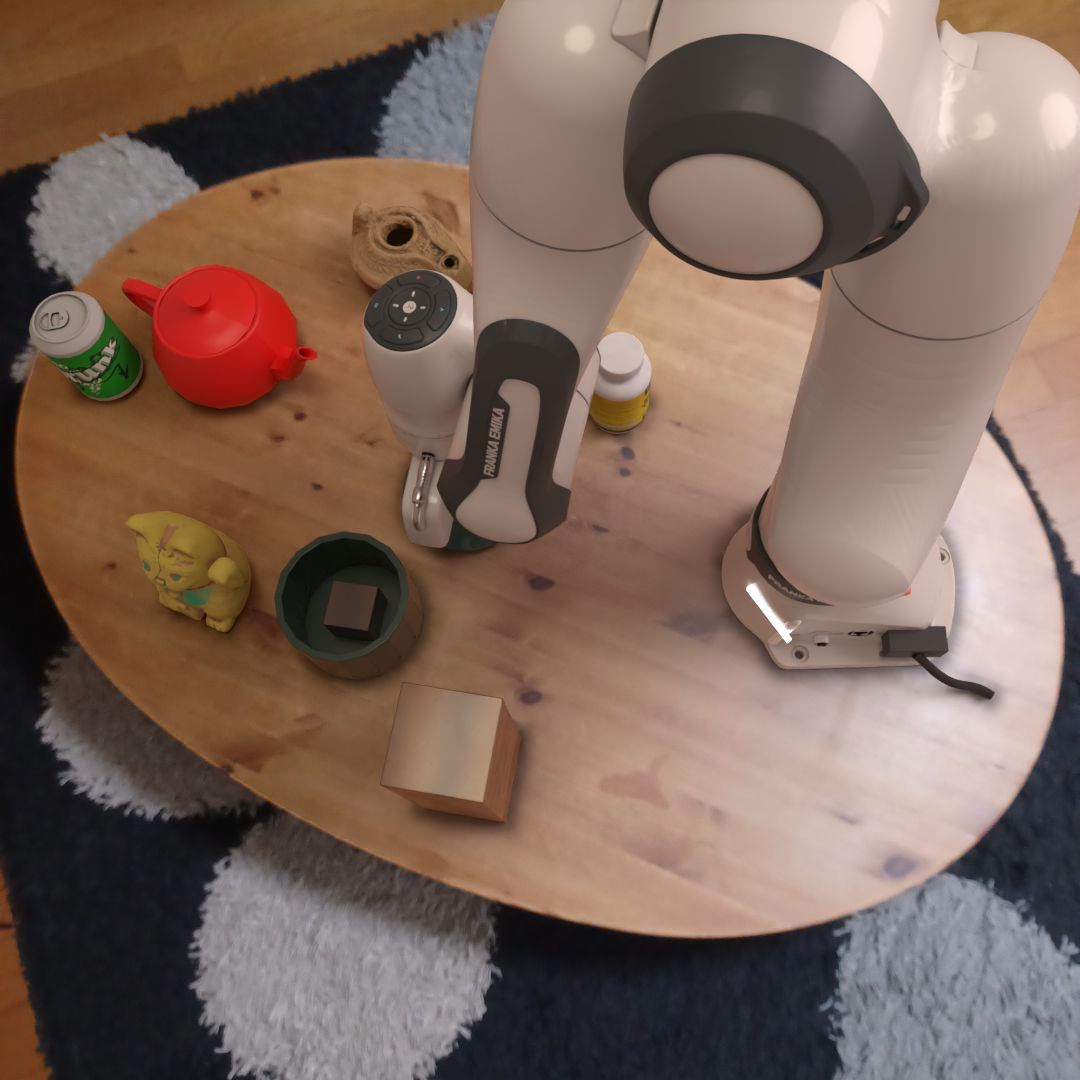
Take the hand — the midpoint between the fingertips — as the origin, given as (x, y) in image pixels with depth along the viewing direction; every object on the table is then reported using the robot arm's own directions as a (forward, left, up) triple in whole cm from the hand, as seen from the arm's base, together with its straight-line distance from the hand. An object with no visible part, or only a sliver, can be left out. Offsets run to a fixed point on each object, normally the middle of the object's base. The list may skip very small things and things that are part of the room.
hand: (456, 470), depth 100 cm
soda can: (+41, -8, -6) cm, 42 cm away
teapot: (+27, -12, -6) cm, 30 cm away
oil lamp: (+10, -26, -6) cm, 28 cm away
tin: (+7, +15, -5) cm, 18 cm away
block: (+7, +15, -5) cm, 18 cm away
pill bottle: (-15, -12, -6) cm, 20 cm away
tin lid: (-1, 0, -5) cm, 5 cm away
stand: (-7, +28, -5) cm, 29 cm away
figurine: (+22, +14, -6) cm, 27 cm away
